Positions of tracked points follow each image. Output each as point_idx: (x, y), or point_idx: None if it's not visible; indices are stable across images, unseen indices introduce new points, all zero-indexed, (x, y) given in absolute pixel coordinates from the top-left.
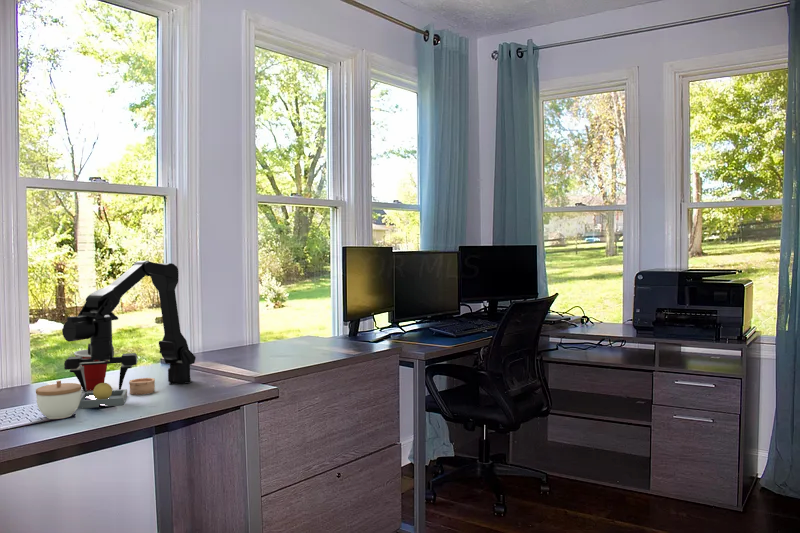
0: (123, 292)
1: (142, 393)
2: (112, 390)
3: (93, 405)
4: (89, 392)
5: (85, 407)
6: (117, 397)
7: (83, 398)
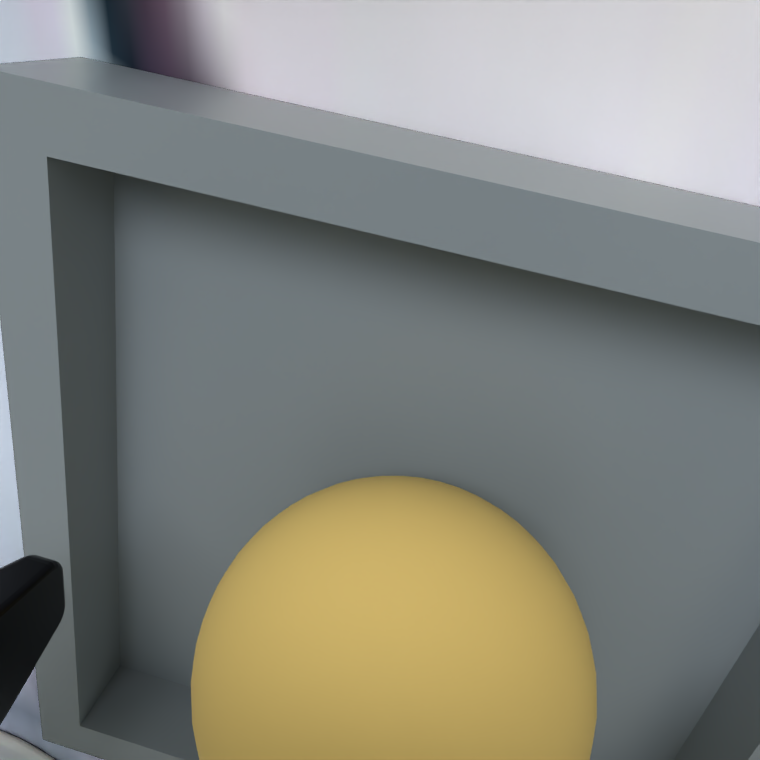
0: None
1: None
2: (712, 253)
3: None
4: (129, 154)
5: None
6: (702, 512)
7: (92, 429)
